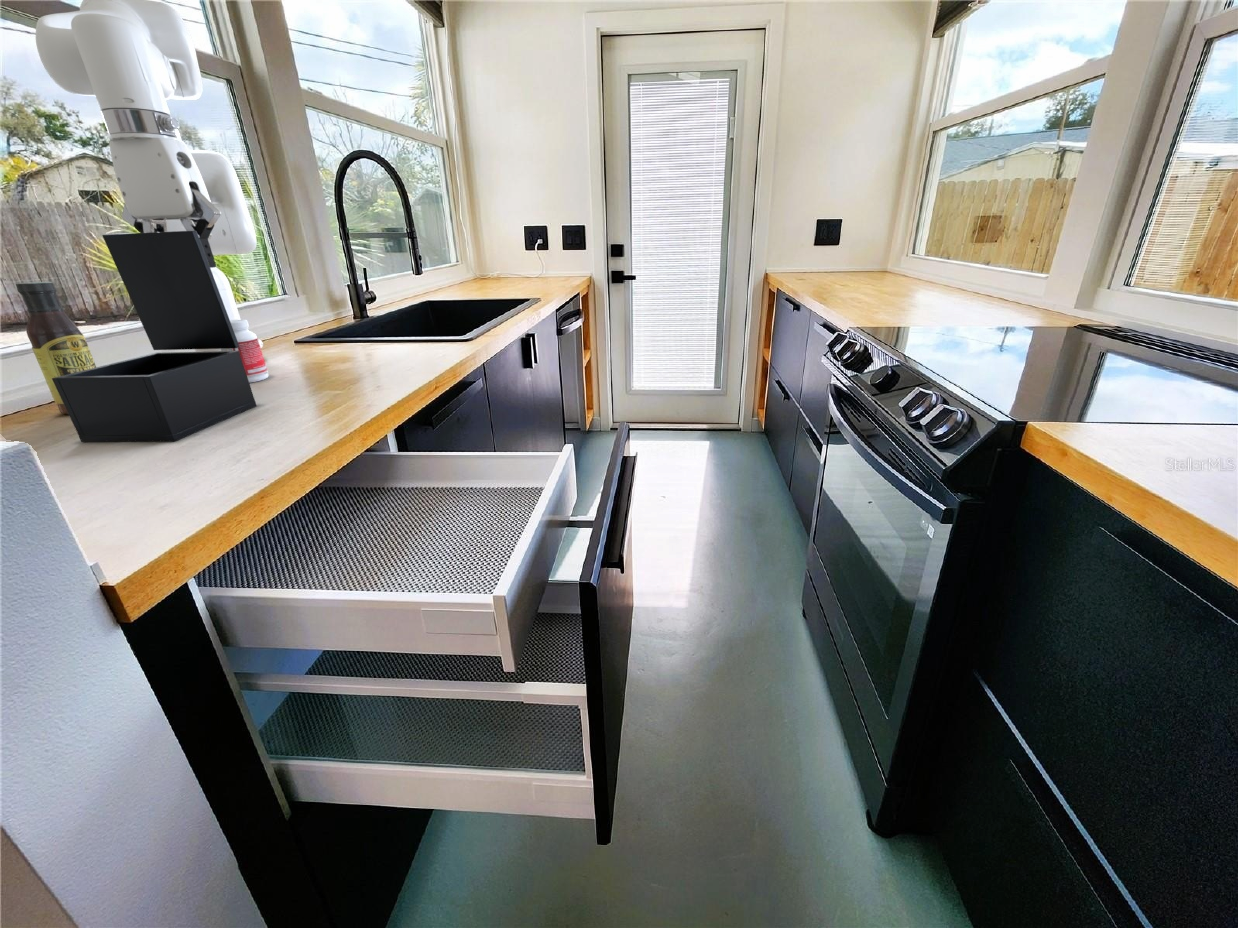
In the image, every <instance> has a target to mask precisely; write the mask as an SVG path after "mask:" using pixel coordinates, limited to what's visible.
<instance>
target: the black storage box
mask: <svg viewBox="0 0 1238 928" xmlns="http://www.w3.org/2000/svg"><path fill="white" fill-rule="evenodd" d="M52 380H53V382H54V384H55V387H56V389H57V391H58V393H59V395H60V397H61V399H62V401H63V403H64V406H65V408H66V410H67V412H68V414H67V415H68V416H69V418H70V421H71V422H72V425H73V426H74V429H75V431H76V433H77V436H78V438H79V440H80V442H81V443H142V442H143V443H144V442H145V443H147V442H149V443H154V442H155V443H157V442H161V443H162V442H177V441H179V440H181V439H185V438H186V437H188V436H191V435H193V434H195V433H198V432H200V431H203V430H205V429H207V428H209V427H211V426H214V425H217V424H218V423H220V422H223V421H225V420H228V419H230V418H232V417H235V416H236V415H239V414H242V413H244V412H246V411H248V410H251V409H253V408H255V407H257V403H256V400H255V395H254V393H253V390H252V387H251V384H250V383H249V380H248V377H247V374H246V371H245V368H244V365H243V362H242V359H241V356H240V352H239V351H208V352H196V351H171V352H169V351H167V352H166V351H165V352H163V351H162V352H154V353H149V354H146V355H141V356H137V357H133V358H129V359H125V360H121V361H117V362H112V363H107V364H105V365H100V366H96V368H92V369H88V370H84V371H80V372H75V373H71V374H67V375H63V376H59V377H55V378H52Z"/></svg>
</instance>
